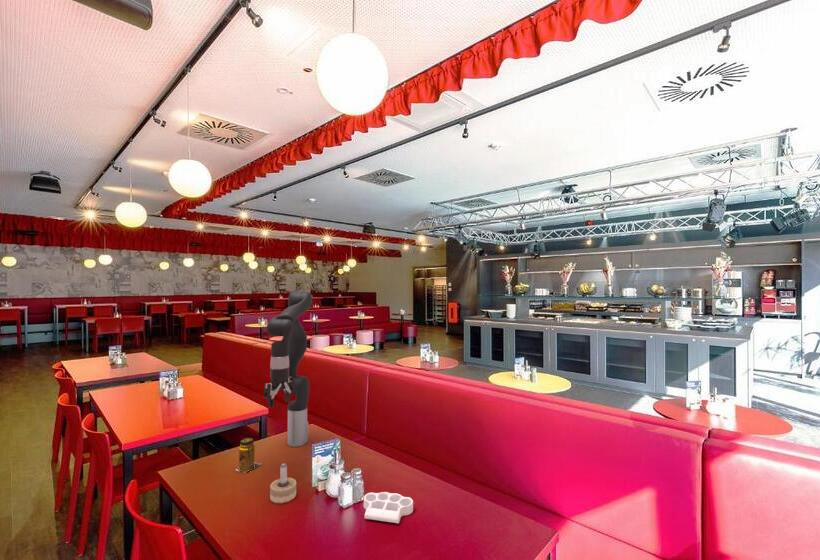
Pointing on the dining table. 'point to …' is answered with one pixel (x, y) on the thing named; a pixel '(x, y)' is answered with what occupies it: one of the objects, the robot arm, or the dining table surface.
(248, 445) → the condiment
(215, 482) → the dining table surface
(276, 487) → the bead
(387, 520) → the white compartment tray
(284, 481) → the white rod
